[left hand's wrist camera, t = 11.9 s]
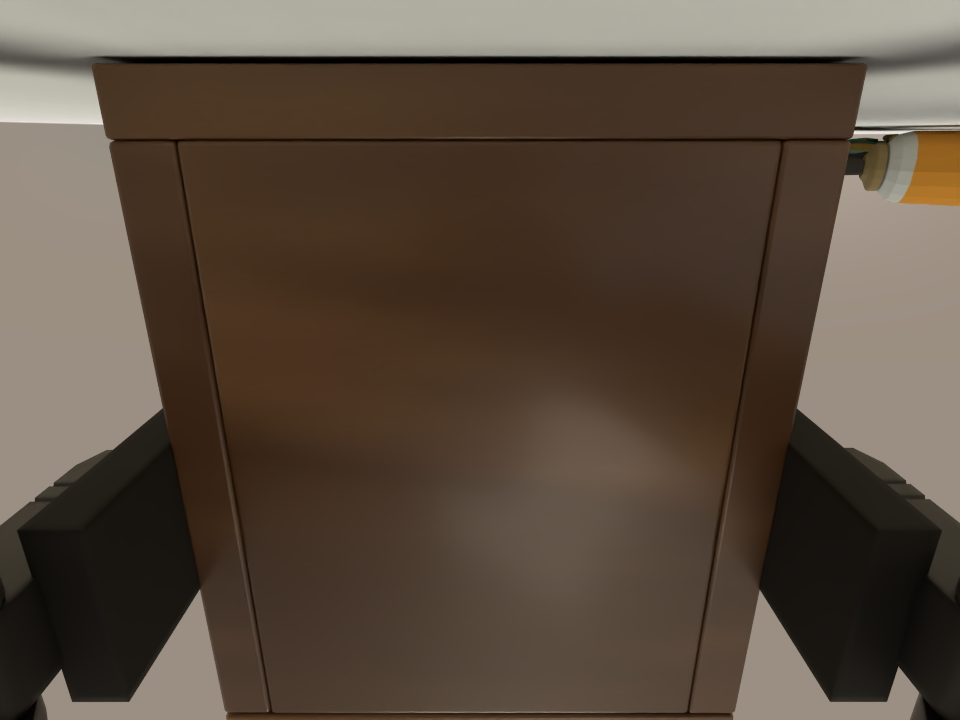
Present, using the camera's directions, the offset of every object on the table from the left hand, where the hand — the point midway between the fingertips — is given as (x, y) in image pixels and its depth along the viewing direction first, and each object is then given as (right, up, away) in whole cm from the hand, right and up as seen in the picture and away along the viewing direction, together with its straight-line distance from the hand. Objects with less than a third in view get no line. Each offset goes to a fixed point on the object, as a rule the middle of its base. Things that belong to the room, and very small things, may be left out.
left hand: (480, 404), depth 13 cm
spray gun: (+28, +16, +26) cm, 42 cm away
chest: (0, +8, +2) cm, 8 cm away
